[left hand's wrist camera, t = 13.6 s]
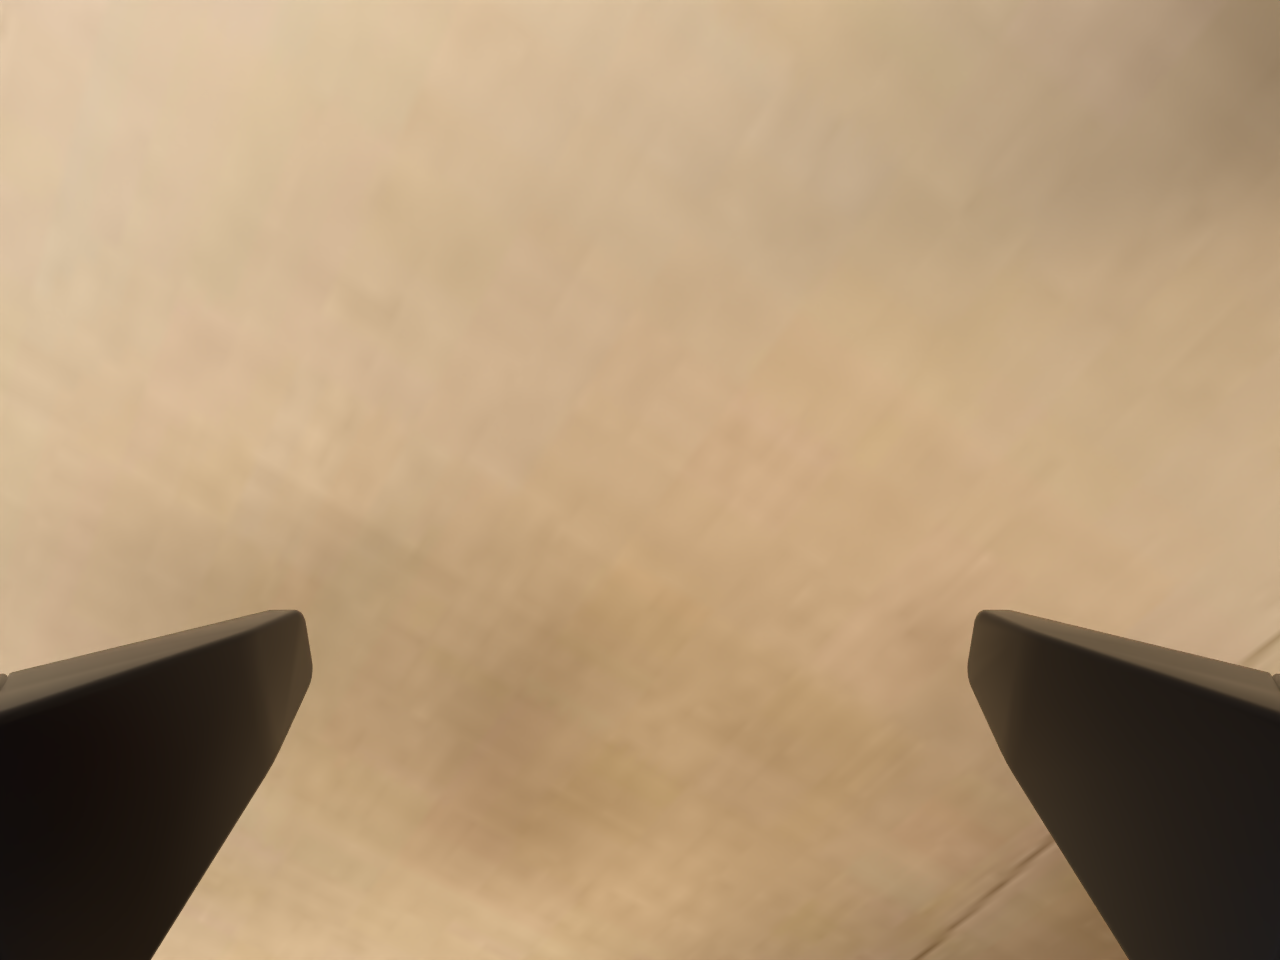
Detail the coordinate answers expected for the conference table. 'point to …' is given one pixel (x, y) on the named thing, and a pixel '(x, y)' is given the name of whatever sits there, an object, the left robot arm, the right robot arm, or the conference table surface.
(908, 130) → the conference table surface
